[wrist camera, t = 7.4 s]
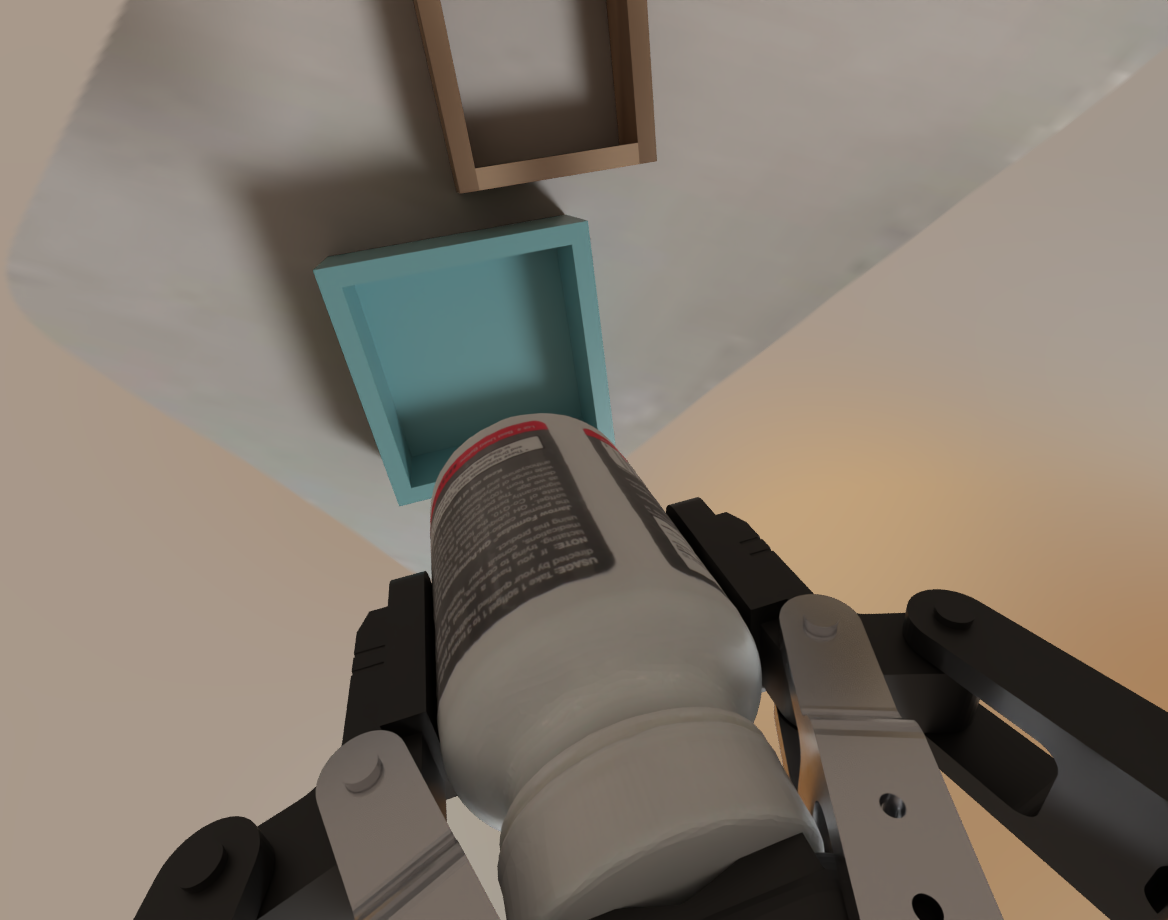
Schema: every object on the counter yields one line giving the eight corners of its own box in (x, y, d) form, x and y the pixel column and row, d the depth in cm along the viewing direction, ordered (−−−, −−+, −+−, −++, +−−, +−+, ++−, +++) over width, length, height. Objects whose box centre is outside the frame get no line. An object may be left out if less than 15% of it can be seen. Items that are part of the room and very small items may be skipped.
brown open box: (618, -83, 22) (640, -111, 20) (637, 162, 26) (656, 161, 24) (398, -64, 20) (396, -92, 18) (456, 191, 25) (460, 193, 22)
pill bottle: (426, 584, 15) (436, 1093, 7) (432, 401, 13) (459, 825, 4) (610, 575, 17) (802, 978, 8) (644, 411, 14) (954, 739, 6)
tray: (565, 214, 26) (587, 220, 23) (594, 421, 32) (615, 451, 28) (327, 256, 24) (312, 270, 21) (401, 468, 30) (399, 506, 26)
